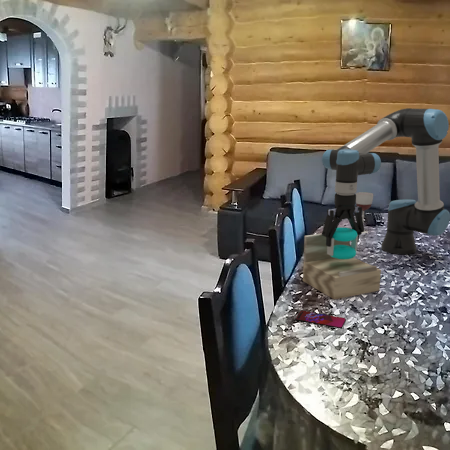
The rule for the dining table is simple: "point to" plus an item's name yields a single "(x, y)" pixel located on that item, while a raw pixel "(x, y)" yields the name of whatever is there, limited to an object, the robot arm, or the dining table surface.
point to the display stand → (337, 270)
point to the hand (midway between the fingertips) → (342, 252)
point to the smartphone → (320, 319)
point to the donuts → (344, 250)
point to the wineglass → (364, 202)
